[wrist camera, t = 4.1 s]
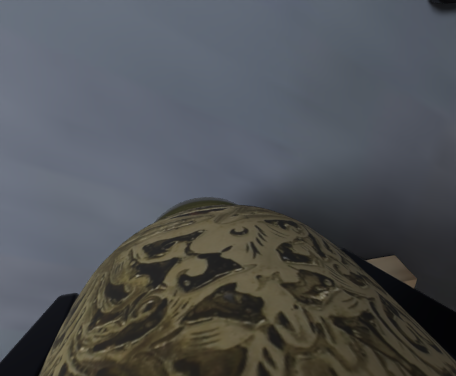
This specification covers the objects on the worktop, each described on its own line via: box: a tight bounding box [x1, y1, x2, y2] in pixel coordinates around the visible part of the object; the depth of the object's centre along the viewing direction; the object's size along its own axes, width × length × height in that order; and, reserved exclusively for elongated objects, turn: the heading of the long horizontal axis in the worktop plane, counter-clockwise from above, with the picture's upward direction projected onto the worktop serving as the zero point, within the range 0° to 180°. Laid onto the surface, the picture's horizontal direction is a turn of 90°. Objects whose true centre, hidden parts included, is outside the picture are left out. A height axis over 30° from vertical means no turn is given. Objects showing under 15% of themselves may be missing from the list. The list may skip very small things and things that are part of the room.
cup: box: [39, 197, 456, 376], centre depth 7 cm, size 8×7×8 cm
